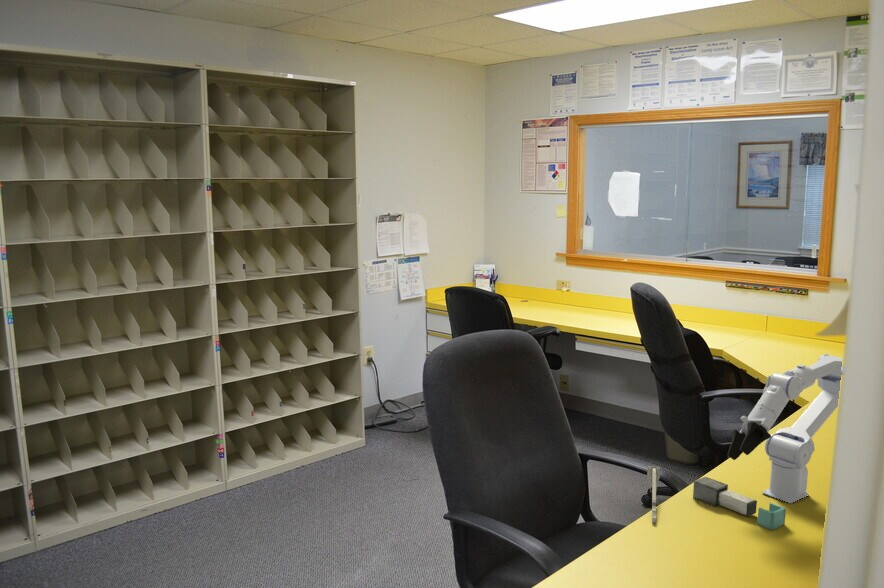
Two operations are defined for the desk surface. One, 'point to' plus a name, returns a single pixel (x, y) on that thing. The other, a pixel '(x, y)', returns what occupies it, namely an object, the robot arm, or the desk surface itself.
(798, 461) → the robot arm
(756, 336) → the desk surface
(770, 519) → the socket
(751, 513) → the long grey plank
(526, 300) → the desk surface
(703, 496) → the sleeve
